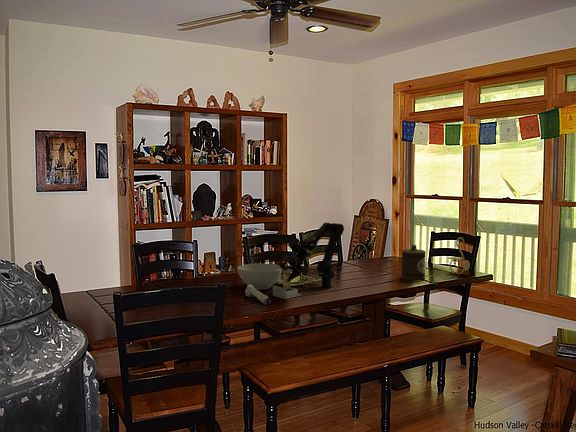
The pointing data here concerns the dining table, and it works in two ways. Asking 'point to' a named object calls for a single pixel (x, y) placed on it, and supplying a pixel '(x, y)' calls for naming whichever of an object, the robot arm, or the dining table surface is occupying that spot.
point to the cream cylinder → (285, 277)
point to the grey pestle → (257, 294)
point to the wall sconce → (465, 263)
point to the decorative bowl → (260, 275)
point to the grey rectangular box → (285, 292)
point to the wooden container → (413, 264)
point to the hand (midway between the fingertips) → (285, 280)
